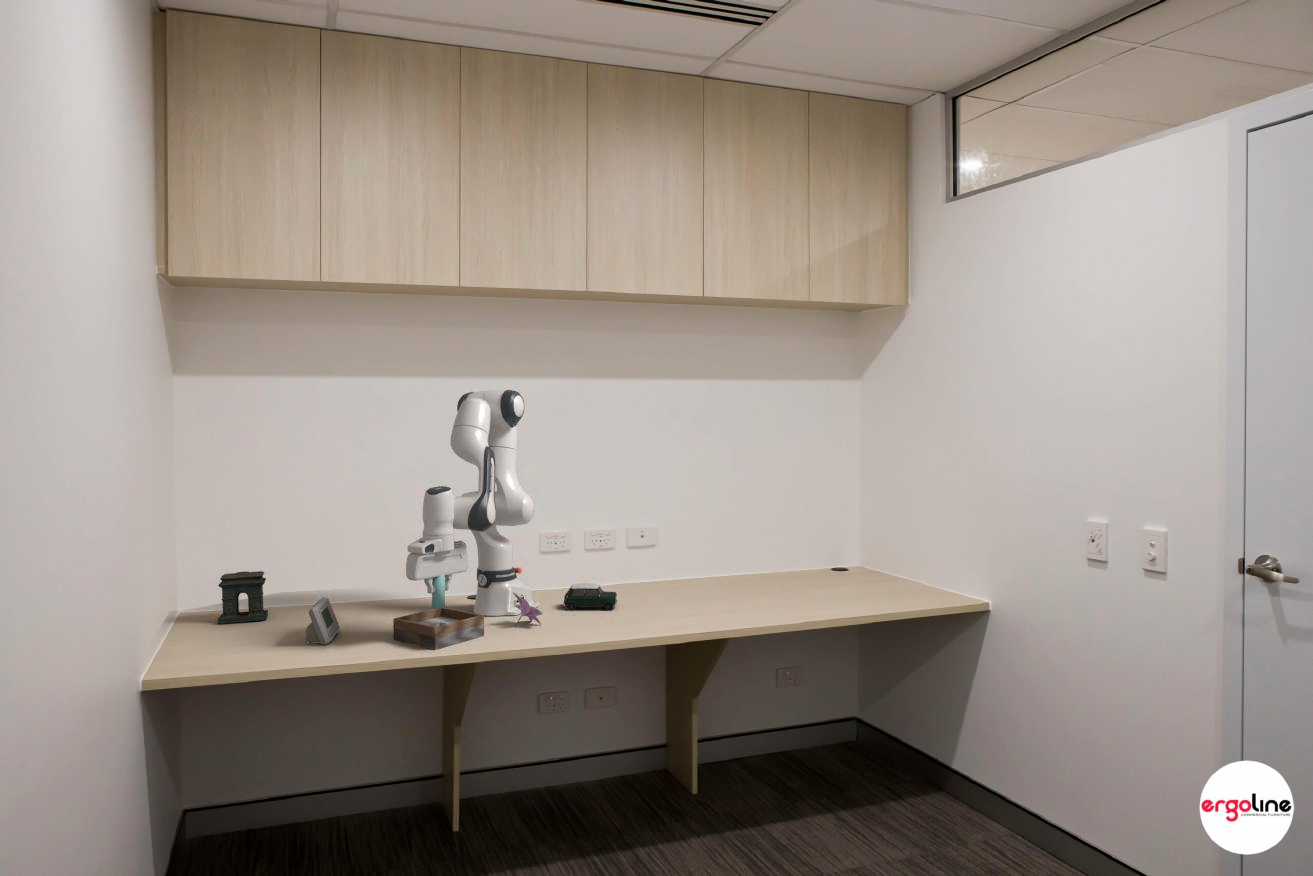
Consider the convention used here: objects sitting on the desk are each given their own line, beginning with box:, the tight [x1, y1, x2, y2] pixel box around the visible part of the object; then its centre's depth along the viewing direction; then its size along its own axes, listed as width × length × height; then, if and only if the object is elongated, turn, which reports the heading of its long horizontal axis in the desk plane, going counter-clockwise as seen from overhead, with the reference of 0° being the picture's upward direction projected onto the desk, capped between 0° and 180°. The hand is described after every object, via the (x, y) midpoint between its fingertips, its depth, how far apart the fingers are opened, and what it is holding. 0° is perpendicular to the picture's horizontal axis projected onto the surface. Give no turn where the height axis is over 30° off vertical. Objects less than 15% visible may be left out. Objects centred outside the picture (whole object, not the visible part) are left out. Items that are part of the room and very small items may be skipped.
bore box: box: [392, 606, 485, 651], centre depth 250 cm, size 18×18×6 cm
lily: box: [513, 593, 543, 628], centre depth 264 cm, size 12×12×10 cm
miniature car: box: [562, 582, 619, 612], centre depth 287 cm, size 9×18×8 cm, turn 91°
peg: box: [431, 573, 446, 609], centre depth 249 cm, size 4×4×10 cm
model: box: [217, 570, 269, 625], centre depth 269 cm, size 14×9×15 cm, turn 112°
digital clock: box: [305, 596, 341, 646], centre depth 248 cm, size 16×9×11 cm, turn 178°
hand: (438, 591), depth 249 cm, fingers closed on peg, 4 cm apart
